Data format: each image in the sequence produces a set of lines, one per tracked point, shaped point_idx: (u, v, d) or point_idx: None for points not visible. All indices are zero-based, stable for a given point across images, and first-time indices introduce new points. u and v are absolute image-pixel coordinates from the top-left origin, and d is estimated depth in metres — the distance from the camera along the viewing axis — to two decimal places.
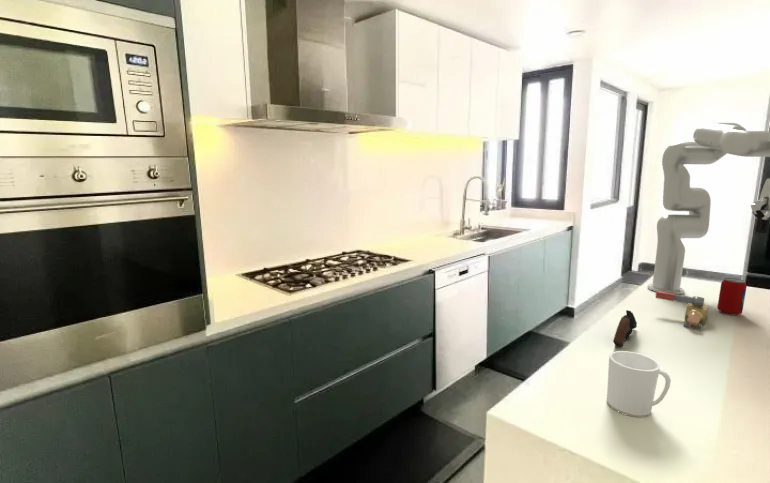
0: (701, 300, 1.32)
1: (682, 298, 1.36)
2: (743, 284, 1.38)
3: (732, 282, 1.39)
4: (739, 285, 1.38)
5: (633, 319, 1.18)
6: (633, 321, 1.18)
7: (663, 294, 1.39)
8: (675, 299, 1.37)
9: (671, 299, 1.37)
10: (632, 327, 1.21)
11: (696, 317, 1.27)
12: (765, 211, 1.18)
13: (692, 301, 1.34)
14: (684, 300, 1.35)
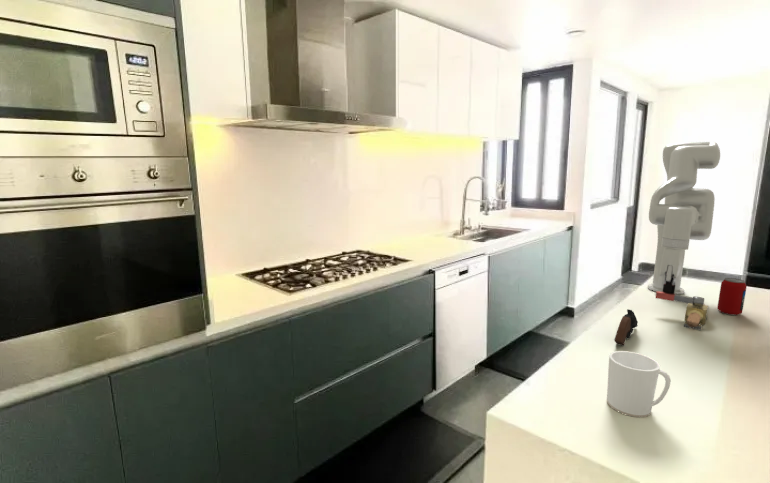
0: (701, 300, 1.32)
1: (682, 298, 1.35)
2: (743, 284, 1.38)
3: (732, 282, 1.39)
4: (739, 285, 1.38)
5: (634, 318, 1.19)
6: (634, 320, 1.19)
7: (663, 294, 1.39)
8: (675, 299, 1.37)
9: (671, 299, 1.37)
10: (633, 326, 1.22)
11: (696, 317, 1.27)
12: None
13: (692, 301, 1.34)
14: (684, 300, 1.35)
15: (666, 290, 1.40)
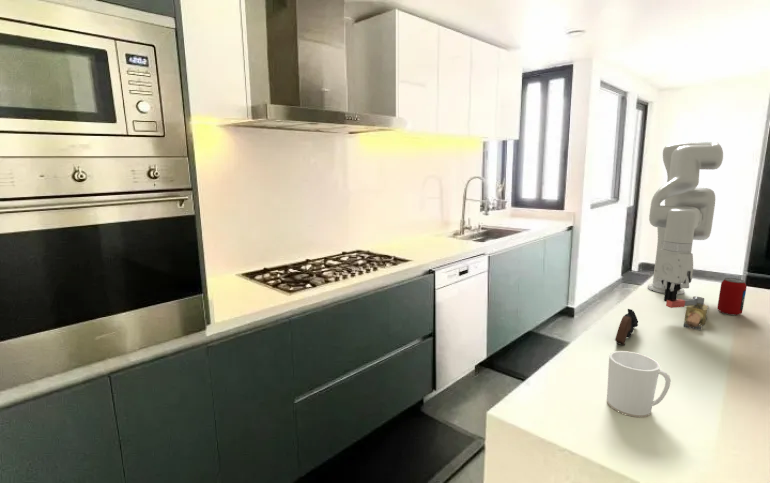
0: None
1: (689, 302, 1.32)
2: (743, 284, 1.38)
3: (732, 282, 1.39)
4: (739, 285, 1.38)
5: (634, 318, 1.20)
6: (634, 320, 1.19)
7: (677, 302, 1.30)
8: (685, 304, 1.31)
9: (682, 305, 1.31)
10: (633, 326, 1.22)
11: (696, 317, 1.27)
12: None
13: (696, 302, 1.32)
14: (691, 303, 1.32)
15: (673, 297, 1.32)
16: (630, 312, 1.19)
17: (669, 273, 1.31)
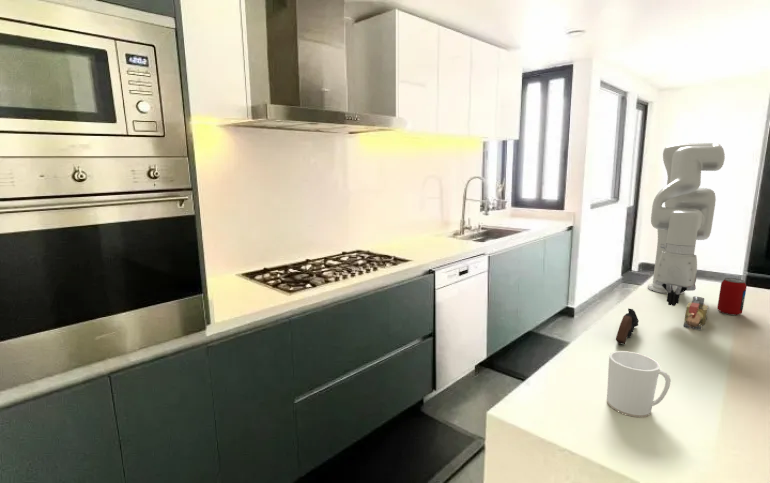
0: None
1: (699, 304, 1.30)
2: (743, 284, 1.38)
3: (732, 282, 1.39)
4: (739, 285, 1.38)
5: (635, 317, 1.20)
6: (635, 319, 1.20)
7: (698, 307, 1.26)
8: None
9: (698, 309, 1.28)
10: (634, 325, 1.23)
11: (696, 317, 1.27)
12: None
13: (700, 303, 1.32)
14: (699, 305, 1.30)
15: (678, 300, 1.30)
16: (630, 312, 1.20)
17: (678, 277, 1.28)
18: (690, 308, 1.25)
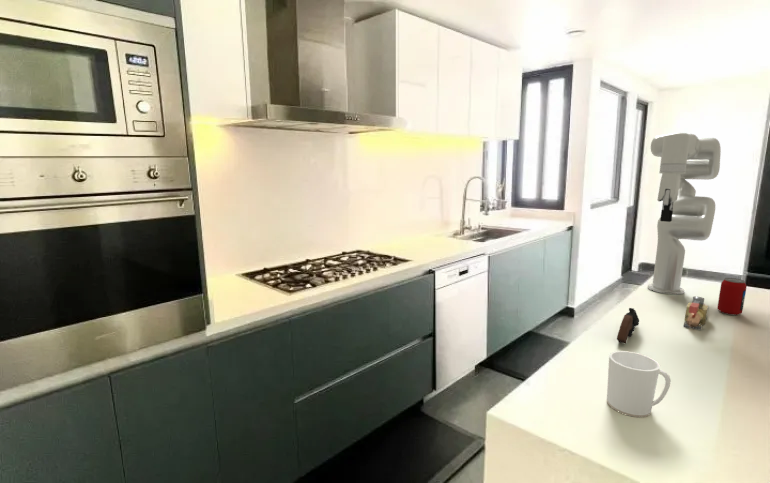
0: None
1: (699, 304, 1.30)
2: (743, 284, 1.38)
3: (732, 282, 1.39)
4: (739, 285, 1.38)
5: (636, 316, 1.21)
6: (636, 318, 1.20)
7: (698, 307, 1.26)
8: None
9: (698, 309, 1.28)
10: (635, 324, 1.23)
11: (696, 317, 1.27)
12: None
13: (700, 303, 1.32)
14: (699, 305, 1.30)
15: (664, 215, 1.45)
16: (631, 311, 1.20)
17: None
18: (690, 308, 1.25)
